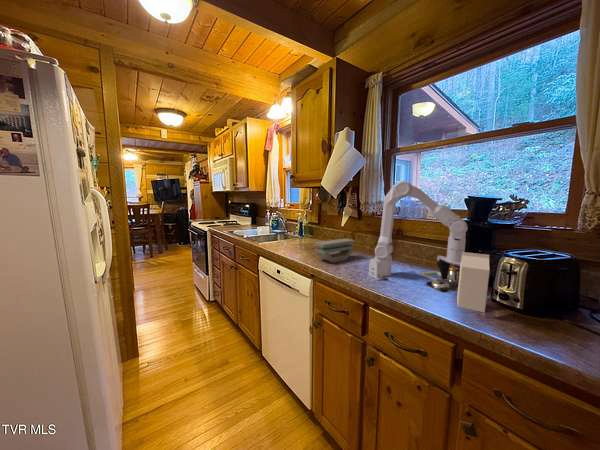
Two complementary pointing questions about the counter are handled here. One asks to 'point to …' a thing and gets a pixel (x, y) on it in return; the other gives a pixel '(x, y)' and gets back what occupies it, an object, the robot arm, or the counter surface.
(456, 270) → the lock pin
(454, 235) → the robot arm
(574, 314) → the counter surface
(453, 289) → the pulley deck
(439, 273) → the tray
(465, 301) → the milk carton
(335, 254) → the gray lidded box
